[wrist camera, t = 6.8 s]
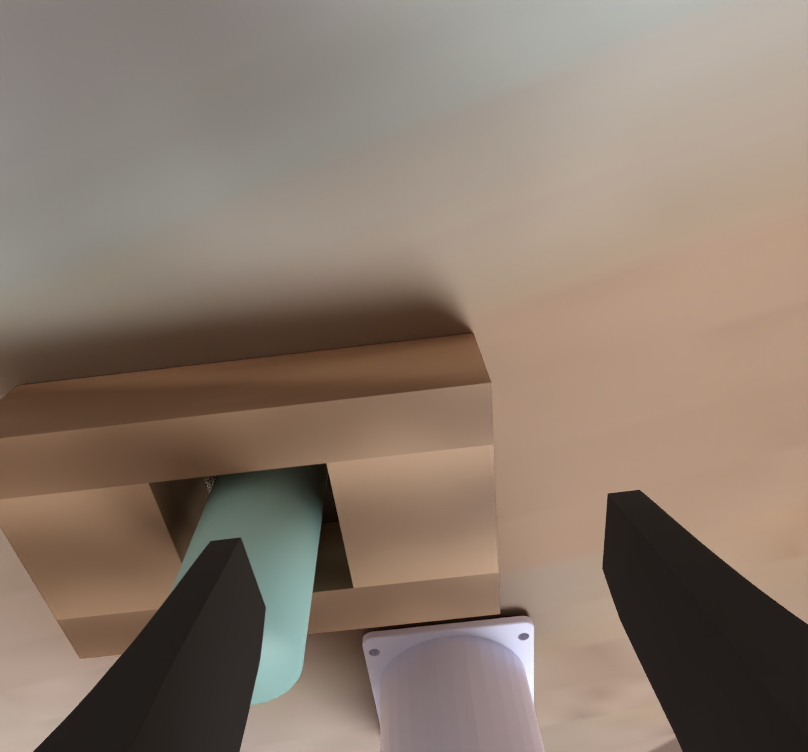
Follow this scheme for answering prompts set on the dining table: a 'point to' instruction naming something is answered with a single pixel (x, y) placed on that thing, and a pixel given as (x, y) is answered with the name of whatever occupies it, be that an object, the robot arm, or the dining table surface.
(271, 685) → the peg
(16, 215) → the dining table surface
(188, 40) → the dining table surface
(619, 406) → the dining table surface
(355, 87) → the dining table surface
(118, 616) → the socket
